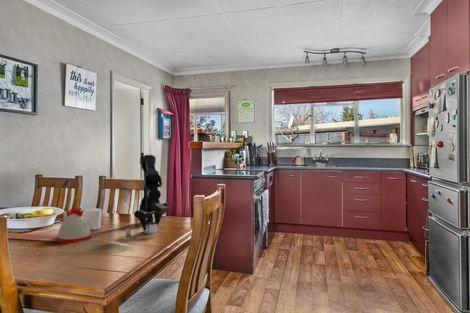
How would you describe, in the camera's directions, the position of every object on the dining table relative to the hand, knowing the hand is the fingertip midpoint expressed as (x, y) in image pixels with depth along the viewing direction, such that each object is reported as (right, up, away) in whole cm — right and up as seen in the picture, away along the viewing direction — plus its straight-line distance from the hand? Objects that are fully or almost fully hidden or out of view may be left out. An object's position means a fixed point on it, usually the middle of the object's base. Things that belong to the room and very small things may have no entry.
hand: (151, 228), depth 154 cm
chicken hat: (-33, -2, -11) cm, 35 cm away
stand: (0, -3, 0) cm, 3 cm away
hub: (-8, -3, -10) cm, 13 cm away
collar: (0, -2, 0) cm, 2 cm away
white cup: (-33, -2, +7) cm, 34 cm away
